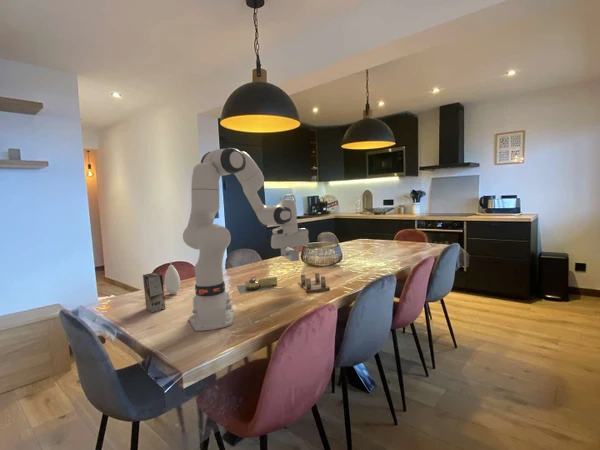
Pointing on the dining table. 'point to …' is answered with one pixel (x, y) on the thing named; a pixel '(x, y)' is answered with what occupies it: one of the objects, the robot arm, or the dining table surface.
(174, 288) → the white teardrop candle
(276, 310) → the dining table surface
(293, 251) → the grey rectangular bar
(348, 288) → the dining table surface
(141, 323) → the dining table surface
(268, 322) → the dining table surface
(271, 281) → the khaki elongated piece
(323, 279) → the cradle
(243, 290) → the dial base
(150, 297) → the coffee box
